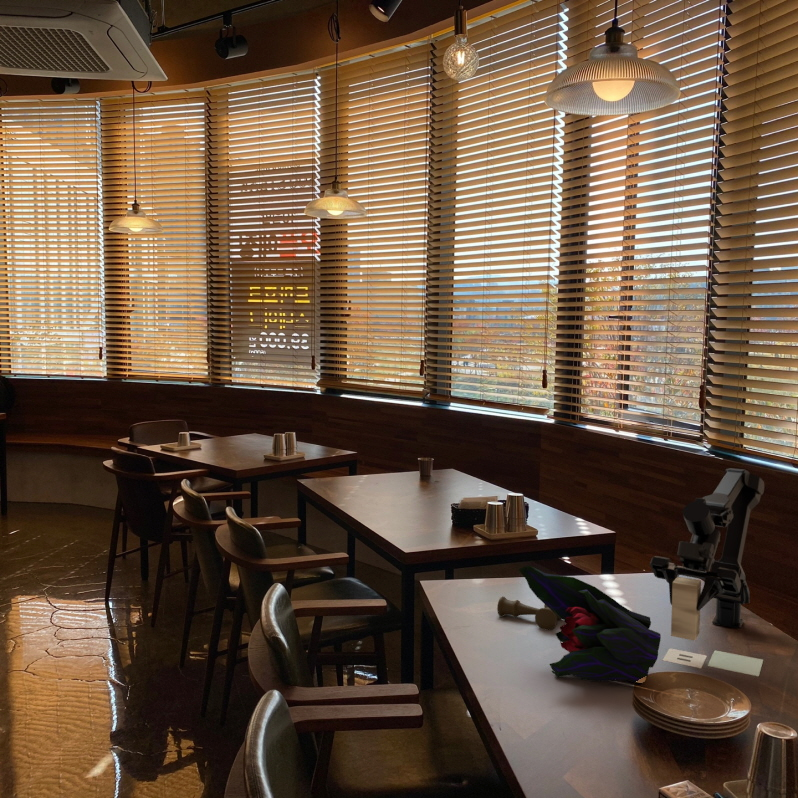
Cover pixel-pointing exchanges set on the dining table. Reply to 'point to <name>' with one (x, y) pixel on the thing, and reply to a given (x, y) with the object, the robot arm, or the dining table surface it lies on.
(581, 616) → the decorative plant
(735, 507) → the robot arm
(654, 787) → the dining table surface
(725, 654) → the green mat
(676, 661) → the tile
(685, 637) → the maple block
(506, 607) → the kendama
